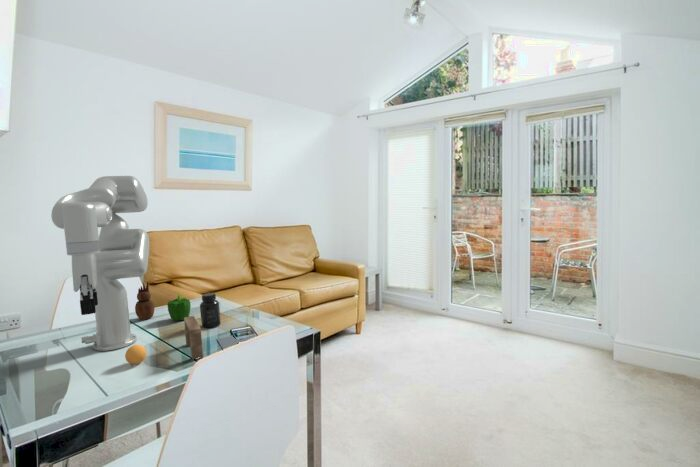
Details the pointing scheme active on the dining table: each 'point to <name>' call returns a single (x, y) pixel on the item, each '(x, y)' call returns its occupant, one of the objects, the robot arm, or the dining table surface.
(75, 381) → the dining table surface
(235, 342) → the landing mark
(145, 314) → the wooden figurine
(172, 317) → the bell pepper
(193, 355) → the bridge
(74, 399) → the dining table surface
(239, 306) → the dining table surface
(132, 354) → the ball
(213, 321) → the supplement bottle
